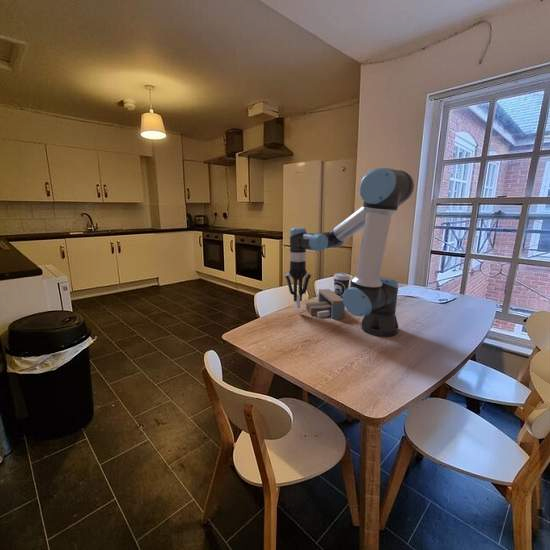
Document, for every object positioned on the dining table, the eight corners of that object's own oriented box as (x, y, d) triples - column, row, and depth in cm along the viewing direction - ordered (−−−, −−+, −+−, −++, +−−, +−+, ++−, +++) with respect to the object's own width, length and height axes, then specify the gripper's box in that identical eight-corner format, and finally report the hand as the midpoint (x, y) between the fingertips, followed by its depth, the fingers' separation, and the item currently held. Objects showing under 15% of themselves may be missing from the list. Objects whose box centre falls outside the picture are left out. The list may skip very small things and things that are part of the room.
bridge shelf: (343, 317, 140) (344, 300, 138) (319, 319, 138) (320, 301, 136) (328, 304, 160) (329, 289, 158) (307, 305, 157) (307, 290, 155)
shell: (334, 314, 146) (334, 306, 145) (311, 316, 143) (311, 308, 143) (327, 308, 154) (328, 301, 153) (305, 309, 152) (306, 302, 151)
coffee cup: (351, 302, 162) (352, 276, 159) (333, 302, 162) (334, 276, 159) (347, 297, 171) (348, 272, 168) (330, 297, 171) (331, 272, 168)
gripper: (308, 258, 145) (308, 304, 150) (283, 259, 143) (283, 306, 148) (313, 261, 138) (312, 308, 143) (286, 262, 135) (286, 310, 140)
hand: (297, 307), depth 145 cm, fingers closed
